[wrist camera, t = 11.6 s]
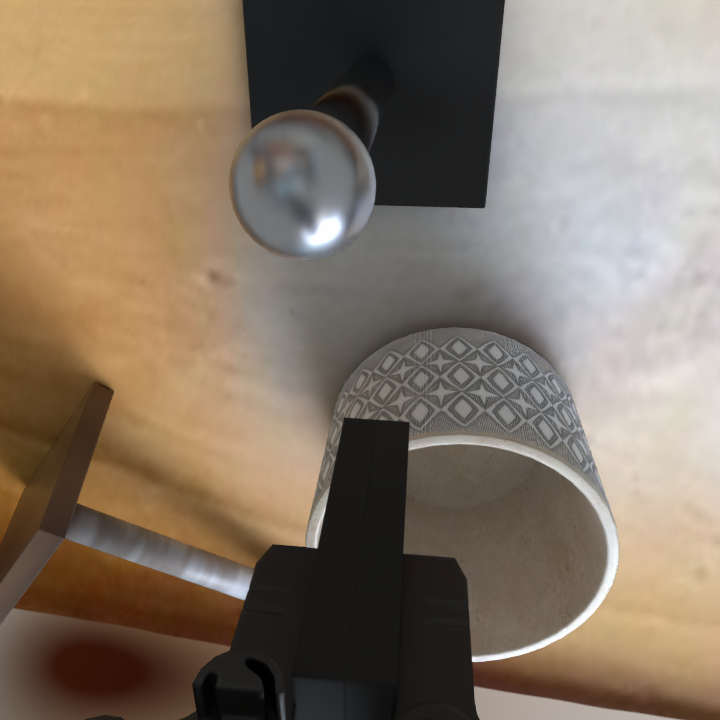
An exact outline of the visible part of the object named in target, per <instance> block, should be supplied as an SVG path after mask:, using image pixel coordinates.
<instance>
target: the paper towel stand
mask: <svg viewBox="0 0 720 720" xmlns="http://www.w3.org/2000/svg"><path fill="white" fill-rule="evenodd" d="M113 394H114V392H113V391H111V390H109V389H107V388H105V387H103V386H100V385H98V384H96V383H94V384H93V385H92V387H91V388H90V390H89V392H88V393H87V395H86V396H85V398H84V399H83V401H82V402H81V404H80V405H79V407H78V408H77V410H76V411H75V413H74V414H73V416H72V417H71V419H70V420H69V422H68V423H67V425H66V427H65V428H64V430H63V431H62V433H61V434H60V436H59V437H58V439H57V440H56V442H55V443H54V445H53V446H52V448H51V449H50V451H49V452H48V454H47V455H46V457H45V458H44V460H43V462H42V463H41V465H40V466H39V468H38V469H37V471H36V472H35V474H34V475H33V477H32V478H31V480H30V481H29V483H28V484H27V486H26V487H25V489H24V491H23V493H22V495H21V498H20V500H19V502H18V505H17V507H16V509H15V512H14V514H13V516H12V519H11V521H10V523H9V526H8V528H7V531H6V533H5V535H4V538H3V540H2V542H1V545H0V625H1V623H2V622H3V621H4V619H5V618H6V617H7V615H8V614H9V613H10V611H11V610H12V609H13V607H14V606H15V605H16V603H17V602H18V601H19V599H20V598H21V597H22V595H23V594H24V593H25V591H26V590H27V589H28V587H29V586H30V585H31V583H32V582H33V580H34V579H35V578H36V576H37V575H38V574H39V572H40V571H41V570H42V568H43V567H44V566H45V564H46V563H47V562H48V560H49V559H50V558H51V556H52V555H53V554H54V552H55V551H56V550H57V548H58V547H59V546H60V544H61V543H62V541H63V540H64V539H68V540H71V541H74V542H76V543H79V544H82V545H85V546H88V547H91V548H94V549H97V550H100V551H103V552H106V553H108V554H111V555H114V556H117V557H120V558H123V559H126V560H129V561H132V562H135V563H137V564H140V565H143V566H146V567H149V568H152V569H155V570H158V571H161V572H164V573H167V574H169V575H172V576H175V577H178V578H181V579H184V580H187V581H190V582H193V583H196V584H199V585H201V586H204V587H207V588H210V589H213V590H216V591H219V592H222V593H225V594H228V595H230V596H233V597H236V598H239V599H242V600H245V599H246V595H247V592H248V591H249V585H250V582H251V579H252V576H253V572H254V568H251V567H248V566H245V565H243V564H240V563H237V562H235V561H232V560H229V559H226V558H224V557H221V556H218V555H216V554H213V553H210V552H208V551H205V550H202V549H199V548H197V547H194V546H191V545H189V544H186V543H183V542H180V541H178V540H175V539H172V538H170V537H167V536H164V535H161V534H159V533H156V532H153V531H151V530H148V529H145V528H143V527H140V526H137V525H134V524H132V523H129V522H126V521H124V520H121V519H118V518H115V517H113V516H110V515H107V514H105V513H102V512H99V511H96V510H94V509H91V508H88V507H86V506H83V505H80V504H78V503H77V501H78V498H79V495H80V492H81V489H82V486H83V483H84V480H85V477H86V474H87V471H88V468H89V465H90V462H91V459H92V456H93V453H94V450H95V447H96V444H97V441H98V438H99V435H100V432H101V429H102V426H103V423H104V420H105V417H106V414H107V411H108V408H109V405H110V403H111V400H112V397H113Z"/></svg>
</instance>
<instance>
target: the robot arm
mask: <svg viewBox="0 0 720 720" xmlns="http://www.w3.org/2000/svg"><path fill="white" fill-rule="evenodd" d="M409 428H410V422H404V421H389V420H374V419H359V418H345V417H344V420H343V425H342V430H341V435H340V440H339V445H338V450H337V455H336V460H335V465H334V469H333V474H332V479H331V484H330V489H329V494H328V499H327V504H326V509H325V514H324V519H323V524H322V529H321V534H320V539H319V543H318V548H310V547H298V546H286V545H274V544H273V545H272V546H271V547H270V548H269V549H268V550H267V552H266V553H265V554H264V555H263V556H262V557H261V559H260V560H259V561H258V562H257V563H256V566H255V569H254V572H253V576H252V579H251V582H250V585H249V591H248V592H247V595H246V599H245V602H244V607H243V610H242V612H241V615H240V618H239V622H238V625H237V628H236V632H235V635H234V638H233V641H232V645H231V648H230V651H228V652H225V653H223V654H221V655H218V656H216V657H214V658H213V659H212V660H211V661H210V662H208V663H207V664H206V665H205V666H204V667H203V668H202V669H201V670H200V672H199V673H198V675H197V677H196V679H195V680H194V682H193V684H192V686H193V692H194V698H195V704H196V710H197V711H196V712H194V713H192V714H190V715H189V716H187V717H185V718H183V719H180V720H479V718H478V715H477V712H476V706H475V701H474V684H473V667H472V651H471V634H470V618H469V608H468V606H469V601H468V585H467V578H466V577H465V575H464V573H463V571H462V569H461V568H460V566H459V564H458V562H457V560H456V559H455V558H452V557H440V556H428V555H415V554H403V549H404V529H405V509H406V489H407V469H408V449H409ZM85 720H124V719H122V718H121V717H113V716H107V715H102V716H98V717H93V718H89V719H85Z"/></svg>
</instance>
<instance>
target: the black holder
mask: <svg viewBox="0 0 720 720" xmlns="http://www.w3.org/2000/svg"><path fill="white" fill-rule="evenodd" d="M504 4H505V0H243V14H244V27H245V41H246V55H247V68H248V82H249V95H250V109H251V123H252V130H251V131H250V132H249V133H248V134H247V135H246V136H245V138H244V139H243V140H242V142H241V143H240V145H239V147H238V149H237V151H236V153H235V156H234V158H233V161H232V165H231V169H230V177H229V190H230V198H231V202H232V206H233V209H234V212H235V214H236V217H237V219H238V220H239V222H240V224H241V226H242V227H243V229H244V230H245V231H246V233H247V234H248V235H249V236H250V237H251V238H252V239H253V240H254V241H255V242H256V243H257V244H259V245H260V246H261V247H262V248H264V249H266V250H267V251H269V252H271V253H273V254H275V255H277V256H280V257H283V258H287V259H292V260H298V261H309V260H318V259H322V258H326V257H328V256H331V255H333V254H335V253H337V252H339V251H341V250H343V249H344V248H345V247H347V246H348V245H349V244H351V243H352V242H353V241H354V240H355V239H356V238H357V237H358V235H359V234H360V233H361V232H362V230H363V229H364V227H365V225H366V224H367V222H368V220H369V218H370V215H371V213H372V210H373V206H374V205H389V206H424V207H458V208H485V204H486V194H487V183H488V172H489V162H490V151H491V141H492V130H493V120H494V109H495V99H496V88H497V78H498V67H499V57H500V46H501V36H502V25H503V15H504Z"/></svg>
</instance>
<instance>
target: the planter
mask: <svg viewBox="0 0 720 720" xmlns="http://www.w3.org/2000/svg"><path fill="white" fill-rule="evenodd" d="M344 417H345V418H359V419H374V420H389V421H404V422H410V428H409V449H408V469H407V489H406V509H405V529H404V549H403V554H415V555H428V556H440V557H452V558H455V559H456V560H457V562H458V564H459V566H460V568H461V569H462V571H463V573H464V575H465V577H466V578H467V585H468V601H469V606H468V608H469V618H470V634H471V651H472V662H481V661H490V660H499V659H504V658H509V657H513V656H518V655H522V654H525V653H528V652H531V651H534V650H536V649H539V648H542V647H544V646H546V645H548V644H550V643H552V642H554V641H556V640H559V639H561V638H562V637H564V636H565V635H567V634H568V633H570V632H571V631H573V630H574V629H576V628H577V627H579V626H580V625H581V624H582V623H583V622H584V621H585V620H586V619H587V618H588V617H590V616H591V615H592V614H593V613H594V611H595V610H596V609H597V608H598V606H599V605H600V604H601V602H602V601H603V600H604V599H605V597H606V595H607V593H608V591H609V589H610V587H611V585H612V583H613V581H614V578H615V574H616V571H617V567H618V562H619V539H618V533H617V527H616V524H615V521H614V518H613V515H612V512H611V509H610V506H609V503H608V500H607V497H606V494H605V492H604V489H603V486H602V483H601V480H600V477H599V474H598V471H597V468H596V465H595V462H594V459H593V456H592V454H591V451H590V448H589V445H588V442H587V439H586V436H585V433H584V430H583V427H582V424H581V421H580V419H579V416H578V413H577V410H576V407H575V404H574V401H573V399H572V396H571V394H570V391H569V389H568V387H567V386H566V384H565V383H564V381H563V379H562V378H561V376H560V375H559V373H558V372H557V371H556V370H555V369H554V368H553V367H552V366H551V365H550V364H549V363H548V362H547V361H546V360H545V359H544V358H543V357H541V356H540V355H539V354H537V353H536V352H535V351H533V350H532V349H531V348H529V347H527V346H525V345H523V344H521V343H520V342H518V341H516V340H514V339H511V338H509V337H506V336H503V335H500V334H497V333H495V332H490V331H485V330H480V329H475V328H458V327H450V328H438V329H430V330H426V331H421V332H417V333H413V334H410V335H407V336H405V337H402V338H399V339H397V340H394V341H392V342H391V343H389V344H387V345H385V346H384V347H382V348H380V349H378V350H377V351H375V352H374V353H373V354H372V355H370V356H369V357H368V358H367V359H365V360H364V361H363V362H362V363H361V364H360V365H359V366H358V367H357V368H356V370H355V371H354V372H353V373H352V374H351V375H350V377H349V378H348V380H347V381H346V383H345V385H344V386H343V388H342V390H341V392H340V394H339V397H338V400H337V402H336V405H335V409H334V413H333V418H332V422H331V426H330V431H329V435H328V439H327V444H326V448H325V452H324V457H323V461H322V465H321V470H320V474H319V478H318V483H317V487H316V491H315V496H314V500H313V504H312V509H311V513H310V517H309V522H308V527H307V533H306V547H310V548H318V543H319V539H320V534H321V529H322V524H323V519H324V514H325V509H326V504H327V499H328V494H329V489H330V484H331V479H332V474H333V469H334V465H335V460H336V455H337V450H338V445H339V440H340V435H341V430H342V425H343V420H344Z"/></svg>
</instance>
